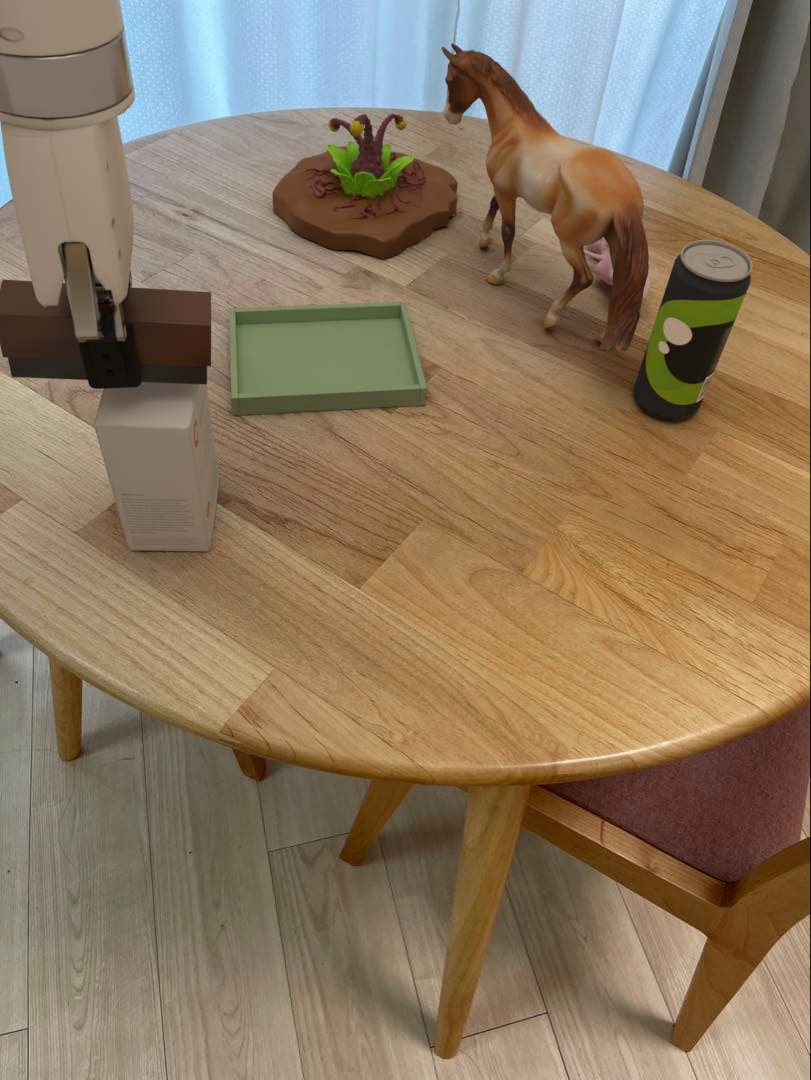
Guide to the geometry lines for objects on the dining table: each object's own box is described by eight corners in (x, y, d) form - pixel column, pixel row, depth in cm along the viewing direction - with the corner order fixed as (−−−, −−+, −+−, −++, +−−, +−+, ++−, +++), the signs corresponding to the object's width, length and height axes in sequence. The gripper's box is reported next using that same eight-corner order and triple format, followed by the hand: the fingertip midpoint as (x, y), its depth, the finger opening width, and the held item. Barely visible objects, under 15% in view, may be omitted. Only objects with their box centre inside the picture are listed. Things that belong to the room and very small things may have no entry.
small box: (142, 476, 72) (113, 346, 62) (221, 478, 72) (205, 350, 62) (125, 552, 67) (91, 424, 57) (210, 554, 67) (191, 427, 57)
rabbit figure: (567, 254, 100) (603, 313, 88) (576, 201, 96) (614, 256, 85) (620, 254, 100) (663, 313, 89) (631, 201, 97) (677, 256, 85)
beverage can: (678, 376, 84) (730, 234, 73) (710, 418, 81) (771, 275, 69) (619, 385, 83) (664, 242, 71) (650, 429, 79) (701, 285, 68)
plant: (243, 219, 98) (234, 117, 90) (335, 151, 110) (335, 56, 101) (398, 275, 93) (404, 172, 84) (478, 197, 104) (491, 101, 96)
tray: (233, 415, 77) (231, 398, 76) (230, 325, 86) (228, 308, 84) (425, 405, 80) (427, 388, 78) (404, 318, 88) (405, 301, 86)
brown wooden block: (6, 378, 55) (-7, 313, 51) (14, 343, 57) (2, 278, 54) (210, 386, 58) (211, 325, 54) (210, 352, 60) (211, 291, 57)
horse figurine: (422, 240, 98) (437, 40, 82) (479, 223, 101) (504, 27, 85) (602, 402, 81) (664, 191, 66) (664, 377, 84) (737, 169, 68)
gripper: (-2, 5, 49) (71, 293, 62) (-60, 145, 38) (43, 454, 52) (138, 8, 50) (179, 290, 63) (120, 145, 39) (174, 447, 53)
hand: (118, 361), depth 57 cm, fingers closed on brown wooden block, 3 cm apart
